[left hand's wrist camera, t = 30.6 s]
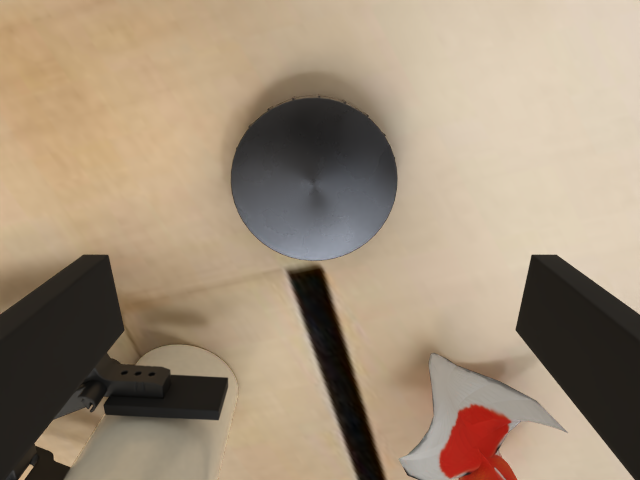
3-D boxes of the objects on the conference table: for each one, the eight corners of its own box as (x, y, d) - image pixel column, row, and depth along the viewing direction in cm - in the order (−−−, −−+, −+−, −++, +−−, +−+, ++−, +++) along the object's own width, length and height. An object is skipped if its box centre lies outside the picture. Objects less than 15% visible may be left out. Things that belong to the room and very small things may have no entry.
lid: (334, 58, 22) (337, 56, 20) (419, 194, 25) (429, 205, 23) (205, 157, 24) (194, 164, 22) (298, 271, 28) (296, 288, 25)
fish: (391, 546, 32) (472, 661, 22) (357, 353, 33) (420, 383, 23) (500, 500, 35) (611, 583, 25) (466, 325, 36) (561, 341, 26)
